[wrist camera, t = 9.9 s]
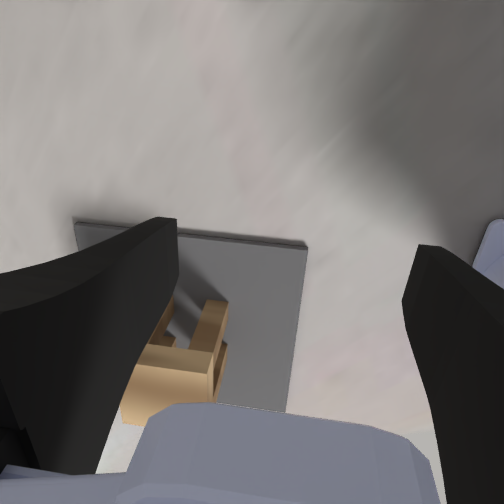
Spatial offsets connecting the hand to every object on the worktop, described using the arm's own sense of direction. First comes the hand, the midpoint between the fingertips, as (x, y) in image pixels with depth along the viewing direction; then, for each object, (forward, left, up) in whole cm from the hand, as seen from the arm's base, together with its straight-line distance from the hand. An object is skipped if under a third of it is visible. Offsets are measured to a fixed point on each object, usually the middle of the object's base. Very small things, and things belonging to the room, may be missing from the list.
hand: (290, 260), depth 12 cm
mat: (+6, +12, -10) cm, 17 cm away
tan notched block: (+6, +12, -10) cm, 16 cm away
